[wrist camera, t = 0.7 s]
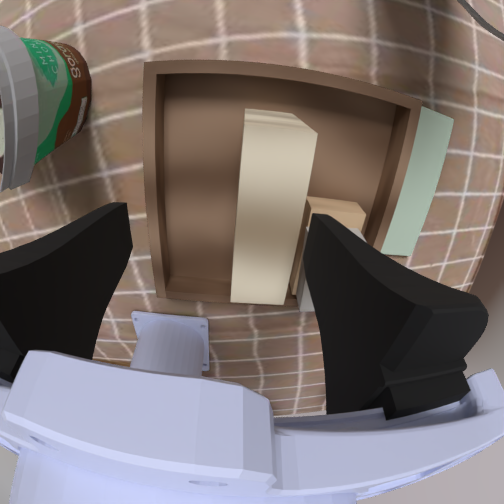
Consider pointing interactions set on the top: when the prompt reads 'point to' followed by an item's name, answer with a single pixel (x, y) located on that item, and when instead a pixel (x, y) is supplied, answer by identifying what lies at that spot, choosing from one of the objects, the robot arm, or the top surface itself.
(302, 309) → the offcut upper
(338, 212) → the offcut lower
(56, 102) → the food container
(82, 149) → the top surface
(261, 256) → the cream chamfered post
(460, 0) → the grey mug
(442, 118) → the mat
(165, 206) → the crate
